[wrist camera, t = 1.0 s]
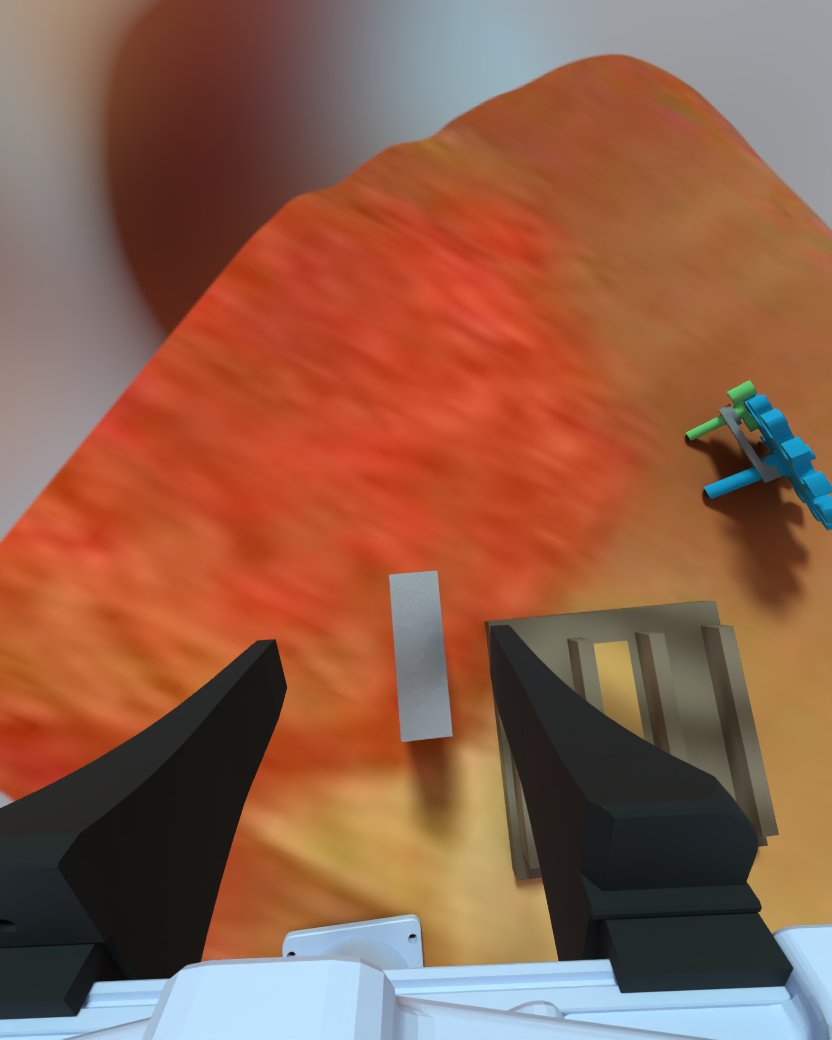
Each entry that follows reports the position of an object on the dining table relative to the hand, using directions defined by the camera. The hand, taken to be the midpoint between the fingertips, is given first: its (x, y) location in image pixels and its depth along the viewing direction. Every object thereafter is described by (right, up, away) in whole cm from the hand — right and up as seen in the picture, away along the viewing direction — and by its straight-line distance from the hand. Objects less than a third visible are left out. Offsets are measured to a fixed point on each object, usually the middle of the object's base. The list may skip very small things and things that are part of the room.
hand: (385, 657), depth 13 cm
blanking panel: (+1, -3, +13) cm, 14 cm away
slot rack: (+14, -9, +13) cm, 21 cm away
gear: (+26, +8, +17) cm, 32 cm away
